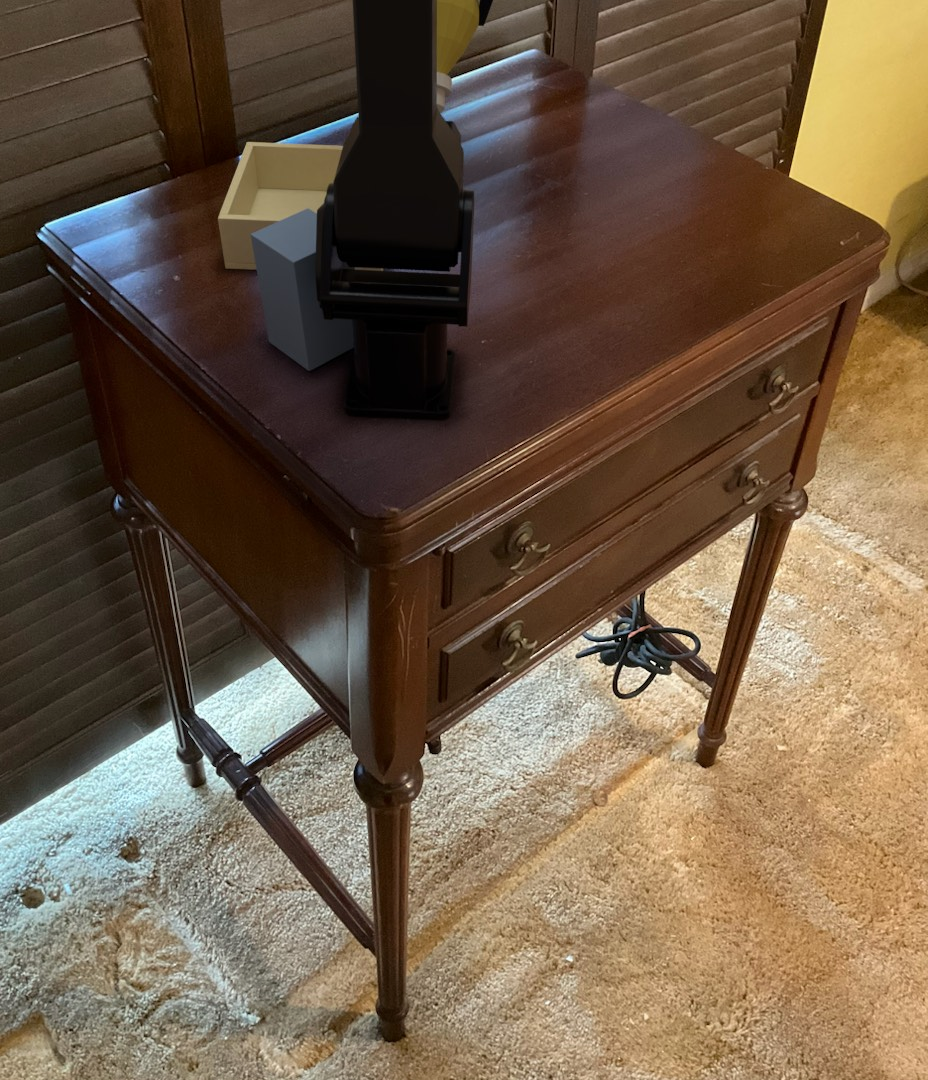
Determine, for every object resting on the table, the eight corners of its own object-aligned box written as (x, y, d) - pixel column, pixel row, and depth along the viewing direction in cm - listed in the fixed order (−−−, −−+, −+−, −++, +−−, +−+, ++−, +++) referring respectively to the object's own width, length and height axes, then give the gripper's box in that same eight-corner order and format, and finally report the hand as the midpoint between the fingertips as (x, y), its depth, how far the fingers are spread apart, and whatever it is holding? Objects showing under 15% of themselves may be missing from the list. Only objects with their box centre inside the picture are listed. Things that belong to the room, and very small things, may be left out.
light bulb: (445, 86, 75) (453, -65, 75) (363, 97, 78) (370, -47, 78) (490, 117, 81) (498, -23, 81) (412, 127, 84) (419, -7, 84)
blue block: (362, 343, 73) (352, 234, 67) (308, 371, 71) (293, 262, 65) (321, 315, 75) (308, 207, 69) (268, 342, 73) (249, 233, 67)
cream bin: (382, 275, 79) (380, 224, 76) (225, 268, 79) (217, 218, 76) (395, 196, 87) (394, 147, 84) (253, 190, 87) (246, 141, 84)
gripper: (581, -261, 74) (562, -17, 86) (304, -271, 75) (322, -28, 86) (584, -215, 67) (562, 45, 78) (276, -226, 67) (299, 34, 79)
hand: (434, 21), depth 81 cm, fingers closed on light bulb, 7 cm apart
